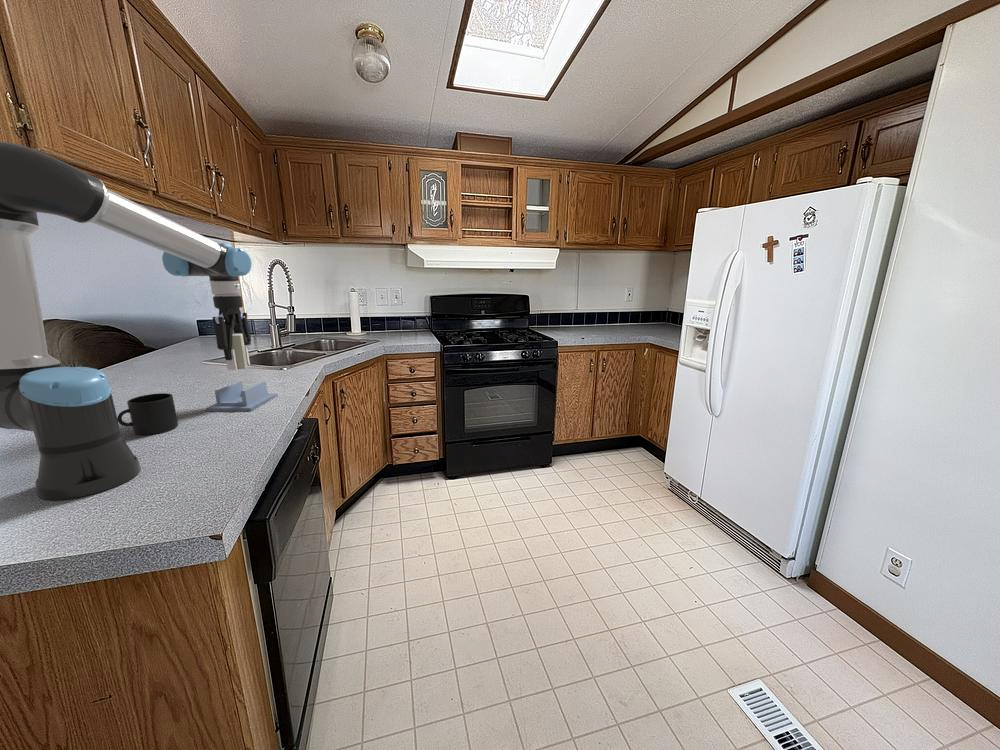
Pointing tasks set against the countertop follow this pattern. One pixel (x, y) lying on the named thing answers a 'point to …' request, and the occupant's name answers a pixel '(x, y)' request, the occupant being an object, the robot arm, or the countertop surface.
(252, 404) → the slot bracket
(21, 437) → the countertop surface
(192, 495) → the countertop surface
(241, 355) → the box
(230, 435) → the countertop surface
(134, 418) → the mug
